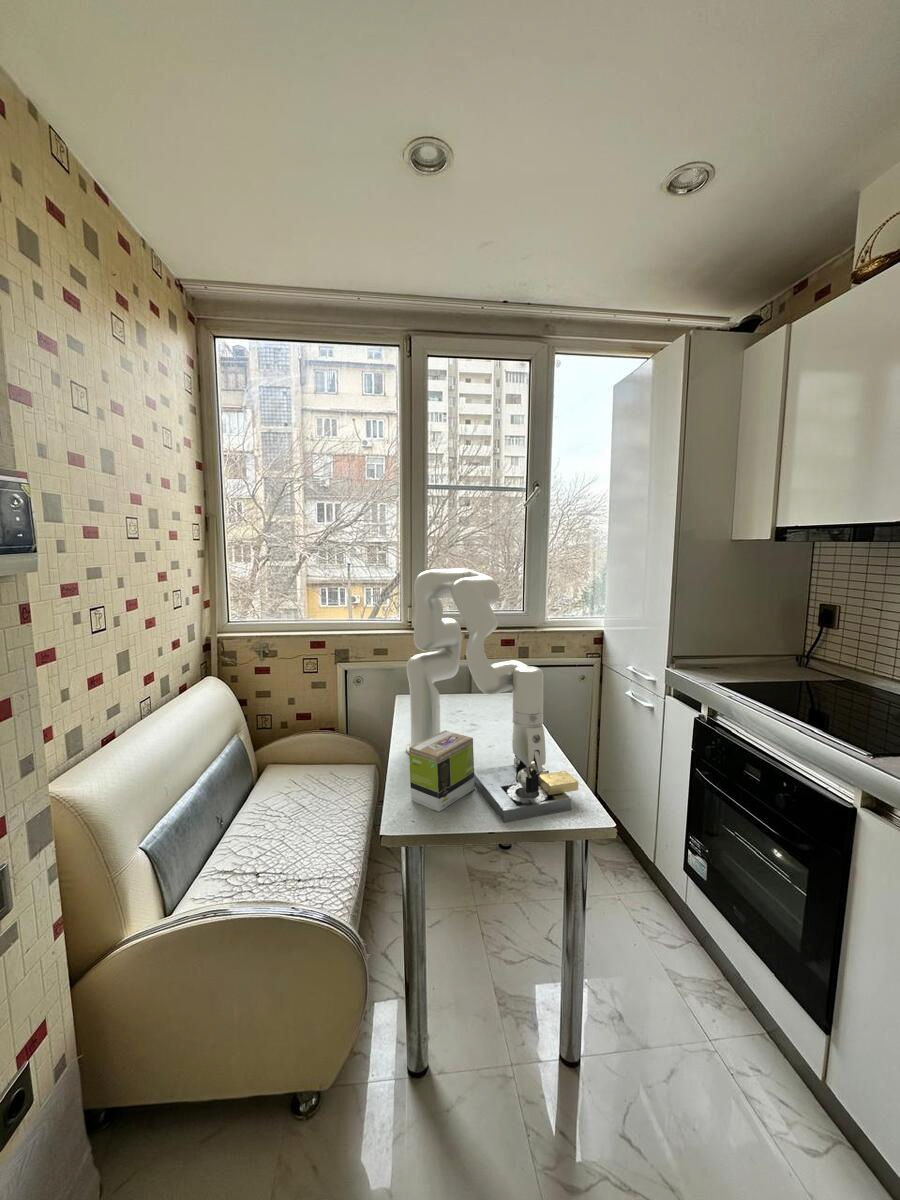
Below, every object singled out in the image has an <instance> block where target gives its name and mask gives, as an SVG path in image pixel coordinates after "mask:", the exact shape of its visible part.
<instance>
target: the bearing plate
mask: <svg viewBox="0 0 900 1200" xmlns="http://www.w3.org/2000/svg"><path fill="white" fill-rule="evenodd" d="M474 786H476V788H477V790H478V791H479V792H480V793H481V794H482V796H483V798H485V800H486V801H487V803H488V804H489V805H490V807H491V808H492V809H493V811H494V812H495V813H496V814H497V816H498V817H499V818H500V820H501V821H502V822H503V823H509V822H515V821H521V820H525V819H531V818H537V817H542V816H548V815H553V814H559V813H564V812H569V811H572V798H571V797H570V796H569V795H568V794H566V792H564V793H558V794H553V795H549V794H548V793H547V792H546V791H545V790H544V789H543V788H542V787H541V786H540V785H539V790H538V791H537V792H532V793H527V792H526V788H523V787H522V786H521V785H520V784H519V783H517V781H516V767H515V766H514V764H510V765H504V766H496V767H489V768H481V769H477V770H475V769H474Z"/></svg>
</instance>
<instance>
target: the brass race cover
mask: <svg viewBox="0 0 900 1200" xmlns="http://www.w3.org/2000/svg"><path fill="white" fill-rule="evenodd" d="M539 785H540V786H541V787H542V788H543V789H544V790H545V791H546V792H547V793H548V794H549V795H553V794H558V793H569V792H575V791H578V790H579V781H578V780H577V779H576V778H575V777H574V776H573V775H571V773H569V772H568V771H566V770H562V771H555V772H549V773H548V774H541V775H540V776H539Z"/></svg>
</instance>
